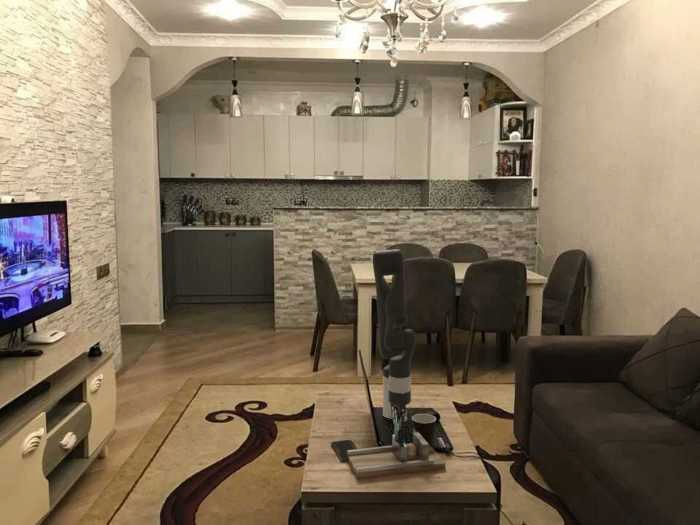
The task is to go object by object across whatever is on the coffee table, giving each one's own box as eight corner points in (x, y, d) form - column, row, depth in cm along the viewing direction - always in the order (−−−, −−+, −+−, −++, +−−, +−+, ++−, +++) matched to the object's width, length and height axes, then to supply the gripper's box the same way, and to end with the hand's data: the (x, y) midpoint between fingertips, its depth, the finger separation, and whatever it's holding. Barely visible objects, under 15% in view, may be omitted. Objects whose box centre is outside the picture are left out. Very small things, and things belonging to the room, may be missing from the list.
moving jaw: (390, 450, 206) (390, 415, 204) (399, 449, 207) (399, 414, 205) (399, 463, 196) (399, 427, 195) (408, 462, 197) (408, 426, 195)
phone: (351, 439, 219) (363, 457, 205) (351, 442, 219) (363, 460, 205) (330, 442, 217) (341, 460, 203) (330, 445, 217) (341, 463, 203)
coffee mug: (434, 451, 211) (435, 423, 210) (410, 449, 213) (410, 422, 211) (436, 437, 222) (437, 411, 221) (413, 435, 224) (413, 410, 223)
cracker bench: (346, 458, 206) (346, 436, 204) (429, 449, 212) (429, 428, 211) (357, 479, 191) (357, 455, 190) (445, 468, 198) (445, 445, 197)
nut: (401, 454, 204) (402, 441, 204) (414, 452, 205) (414, 440, 205) (406, 459, 200) (406, 447, 199) (418, 458, 201) (418, 446, 200)
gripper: (382, 382, 204) (382, 430, 207) (395, 396, 191) (395, 447, 193) (403, 380, 206) (403, 428, 208) (417, 394, 192) (417, 445, 195)
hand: (399, 437), depth 201 cm, fingers closed on moving jaw, 3 cm apart
